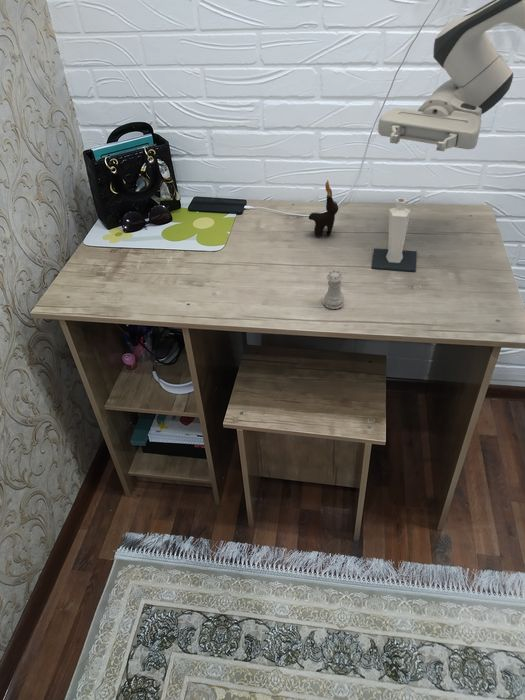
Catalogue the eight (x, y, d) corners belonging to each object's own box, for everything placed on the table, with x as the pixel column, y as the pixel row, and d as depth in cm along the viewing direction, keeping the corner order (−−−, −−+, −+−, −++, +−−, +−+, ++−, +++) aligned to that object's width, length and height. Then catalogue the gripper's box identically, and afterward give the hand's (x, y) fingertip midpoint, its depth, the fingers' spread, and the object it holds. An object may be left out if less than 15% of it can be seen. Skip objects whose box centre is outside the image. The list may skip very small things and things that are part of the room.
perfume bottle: (391, 266, 131) (398, 207, 121) (381, 256, 134) (387, 198, 124) (408, 260, 132) (416, 202, 122) (397, 251, 135) (405, 193, 125)
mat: (416, 252, 135) (416, 251, 135) (415, 272, 130) (416, 270, 129) (373, 249, 137) (373, 248, 137) (371, 269, 132) (371, 267, 131)
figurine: (336, 245, 140) (338, 188, 130) (307, 244, 141) (307, 188, 131) (338, 222, 147) (341, 167, 137) (311, 221, 148) (311, 167, 138)
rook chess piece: (343, 311, 121) (345, 280, 116) (322, 309, 122) (323, 279, 116) (344, 298, 124) (346, 267, 119) (324, 296, 125) (325, 266, 120)
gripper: (392, 96, 122) (367, 119, 114) (490, 109, 114) (471, 135, 106) (389, 126, 127) (365, 150, 118) (483, 140, 118) (465, 167, 110)
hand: (416, 143), depth 112 cm, fingers open, 8 cm apart
